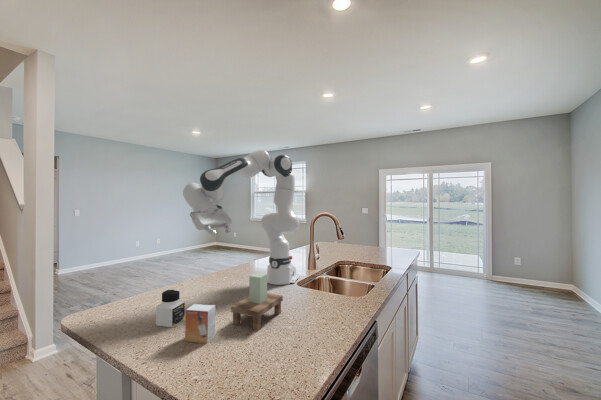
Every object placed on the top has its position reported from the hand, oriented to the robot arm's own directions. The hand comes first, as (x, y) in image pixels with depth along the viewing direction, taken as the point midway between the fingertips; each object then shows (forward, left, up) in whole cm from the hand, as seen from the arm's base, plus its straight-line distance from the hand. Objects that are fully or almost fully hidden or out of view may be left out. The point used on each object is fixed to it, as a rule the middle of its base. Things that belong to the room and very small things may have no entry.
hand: (222, 233), depth 120 cm
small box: (+27, +14, -32) cm, 44 cm away
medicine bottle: (+23, -5, -32) cm, 39 cm away
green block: (+6, +23, -24) cm, 34 cm away
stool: (+6, +23, -31) cm, 40 cm away
